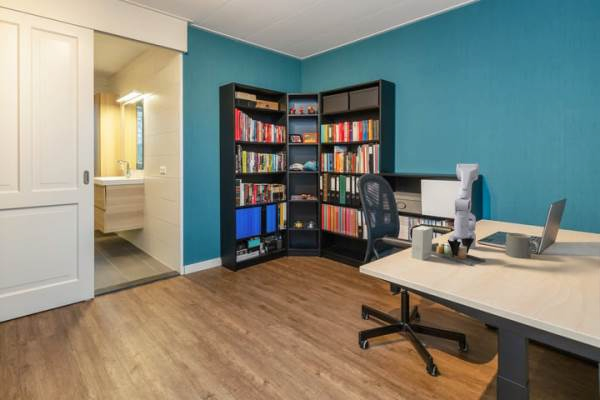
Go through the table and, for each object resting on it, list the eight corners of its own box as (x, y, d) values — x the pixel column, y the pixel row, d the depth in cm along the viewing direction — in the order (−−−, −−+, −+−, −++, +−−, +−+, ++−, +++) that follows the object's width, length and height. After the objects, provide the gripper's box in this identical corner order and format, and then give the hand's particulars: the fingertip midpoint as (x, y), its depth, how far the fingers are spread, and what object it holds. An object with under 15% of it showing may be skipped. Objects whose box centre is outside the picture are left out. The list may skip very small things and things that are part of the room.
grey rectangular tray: (437, 249, 171) (437, 242, 170) (486, 263, 148) (487, 255, 148) (421, 252, 165) (421, 245, 164) (469, 267, 142) (470, 259, 142)
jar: (458, 256, 156) (459, 244, 156) (468, 259, 152) (469, 246, 151) (451, 257, 154) (452, 245, 153) (461, 260, 149) (462, 248, 149)
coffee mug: (500, 253, 162) (501, 233, 161) (514, 251, 166) (515, 232, 165) (528, 261, 150) (530, 240, 149) (542, 258, 154) (544, 237, 153)
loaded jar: (448, 253, 161) (448, 241, 160) (457, 256, 157) (458, 244, 156) (441, 255, 159) (441, 243, 158) (450, 257, 154) (451, 245, 153)
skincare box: (420, 255, 160) (421, 225, 158) (432, 258, 155) (433, 227, 153) (410, 259, 154) (411, 227, 153) (422, 262, 150) (423, 229, 148)
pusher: (447, 252, 163) (448, 242, 163) (449, 252, 162) (450, 243, 162) (436, 254, 159) (436, 244, 159) (438, 255, 158) (438, 245, 158)
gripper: (459, 228, 144) (457, 258, 146) (479, 225, 151) (478, 254, 153) (445, 225, 150) (443, 254, 152) (465, 222, 157) (464, 250, 159)
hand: (460, 254), depth 153 cm, fingers open, 7 cm apart
